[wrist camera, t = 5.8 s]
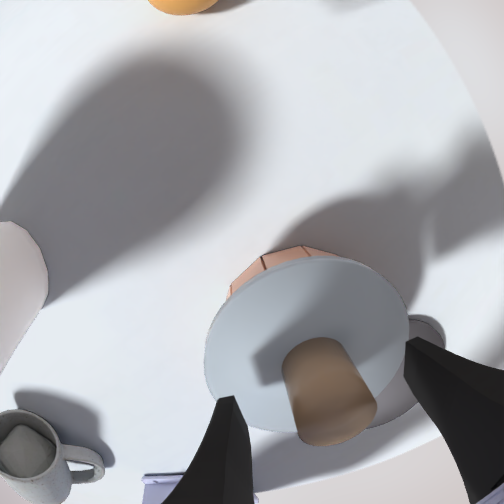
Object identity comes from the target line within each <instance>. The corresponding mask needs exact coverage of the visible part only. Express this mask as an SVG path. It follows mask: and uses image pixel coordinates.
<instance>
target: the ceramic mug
mask: <svg viewBox="0 0 504 504" xmlns="http://www.w3.org/2000/svg"><path fill="white" fill-rule="evenodd" d="M66 460H73V461H81V462H86V463H90V464H93V465H95V466H94V468H93V469H90V470H83V471H70V469H69V467H68V464H67V462H66ZM104 474H105V468H104V464H103V460H102V458H101V456H100V455H99V454H98V453H96V452H95V451H93V450H91V449H88V448H85V447H81V446H74V445H66V444H61V443H60V440H59V438H58V435H57V433H56V432H55V430H54V429H53V427H52V426H51V425H50V424H49V423H48V422H47V421H46V420H44V419H43V418H41V417H40V416H38V415H36V414H34V413H32V412H29V411H26V410H19V409H15V410H7V411H4V412H1V413H0V476H1V477H2V479H4V481H5V482H6V483H7V484H8V485H9V486H10V487H11V488H12V489H13V490H14V491H15V492H16V493H17V494H18V495H19V496H21V497H22V498H24V499H25V500H27V501H29V502H31V503H33V504H61V503H62V502H63V501H65V500H66V498H67V497H68V495H69V493H70V490H71V485H72V484H81V483H92V482H96V481H98V480H100V479H101V478H102V477H103V476H104Z"/></svg>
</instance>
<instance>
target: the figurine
mask: <svg viewBox="0 0 504 504" xmlns="http://www.w3.org/2000/svg"><path fill="white" fill-rule="evenodd" d="M148 1H149V2H150V3H151V4H152V5H153V6H154V7H155V8H157V9H158V10H160V11H162V12H165V13H168V14H172V15H191V14H195V13H199V12H201V11H204V10H206V9H208V8H209V7H211V6H212V5H214V4H215V3H216V2H217V1H218V0H148Z"/></svg>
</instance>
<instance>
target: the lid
mask: <svg viewBox="0 0 504 504" xmlns="http://www.w3.org/2000/svg"><path fill="white" fill-rule="evenodd" d="M408 339H409V319H408V314H407V310H406V307H405V304H404V302H403V300H402V298H401V296H400V295H399V293H398V292H397V290H396V289H395V288H394V287H393V286H392V285H391V284H390V283H389V282H388V281H387V280H386V279H385V278H384V277H383V276H381V275H380V274H379V273H377V272H376V271H374V270H373V269H372V268H370V267H369V266H366V265H364V264H362V263H360V262H358V261H355V260H351V259H348V258H344V257H337V256H310V257H302V258H298V259H294V260H290V261H286V262H283V263H281V264H278V265H275V266H273V267H270V268H268V269H267V270H265V271H263V272H261V273H259V274H257V275H256V276H254V277H253V278H251V279H250V280H248V281H247V282H245V283H244V284H243V285H242V286H241V287H239V288H238V289H237V290H236V291H235V292H234V293H233V294H232V295H231V296H230V297H229V298H228V299H227V300H226V302H225V303H224V304H223V305H222V307H221V308H220V310H219V311H218V313H217V314H216V316H215V317H214V320H213V322H212V324H211V326H210V328H209V331H208V335H207V339H206V344H205V353H204V374H205V379H206V382H207V386H208V388H209V390H210V392H211V395H212V396H213V398H214V399H215V401H216V402H217V400H218V399H219V398H222V397H227V396H232V395H234V396H235V399H236V401H237V403H238V406H239V408H240V410H241V412H242V415H243V417H244V419H245V421H246V424H247V425H249V426H251V427H255V428H258V429H261V430H266V431H272V432H298V436H299V438H300V439H301V440H302V441H303V442H305V443H307V444H309V445H313V446H329V445H335V444H338V443H341V442H344V441H347V440H349V439H351V438H353V437H354V436H356V435H358V434H359V433H361V432H362V431H363V430H364V429H365V428H366V427H367V426H368V425H369V424H370V423H371V422H372V420H373V419H374V417H375V415H376V412H377V402H376V400H375V398H376V397H377V396H378V395H379V394H380V393H381V392H382V391H383V390H384V388H385V387H386V386H387V385H388V384H389V382H390V381H391V380H392V378H393V377H394V375H395V373H396V372H397V370H398V369H399V366H400V364H401V362H402V360H403V358H404V355H405V343H406V341H408Z"/></svg>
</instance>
